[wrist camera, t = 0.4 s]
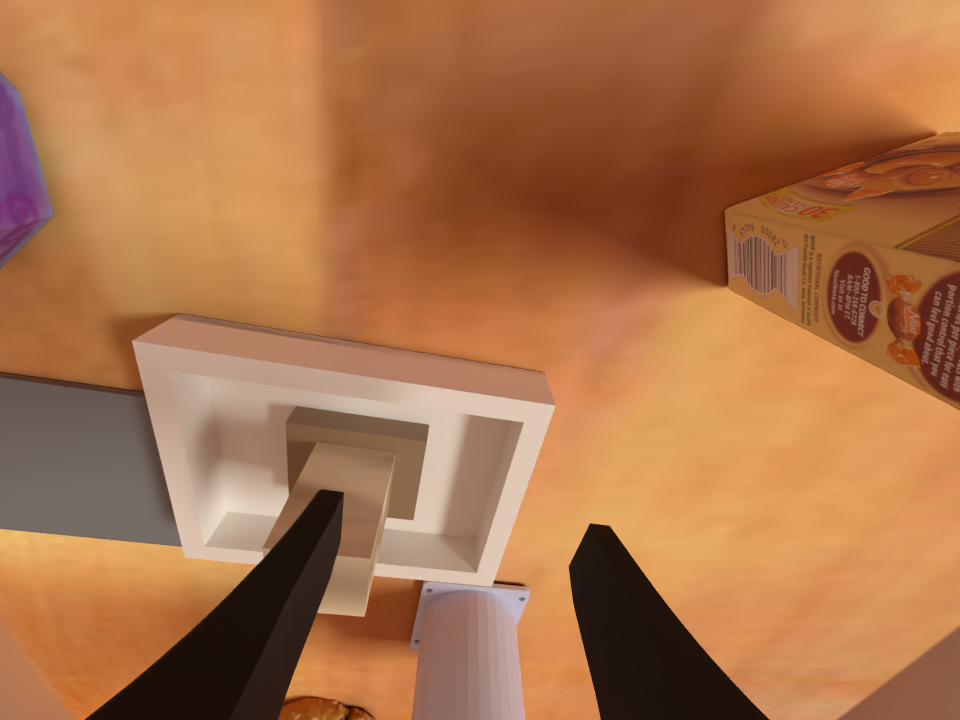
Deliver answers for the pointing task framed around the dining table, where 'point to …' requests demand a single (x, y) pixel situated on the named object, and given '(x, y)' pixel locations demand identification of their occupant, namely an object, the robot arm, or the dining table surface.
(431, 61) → the dining table surface
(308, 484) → the maple block
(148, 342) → the tray
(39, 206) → the lantern
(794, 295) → the candy box
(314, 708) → the bagel
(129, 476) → the rubber mat
